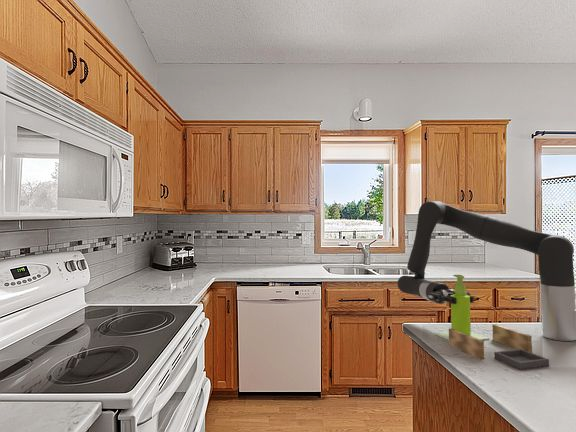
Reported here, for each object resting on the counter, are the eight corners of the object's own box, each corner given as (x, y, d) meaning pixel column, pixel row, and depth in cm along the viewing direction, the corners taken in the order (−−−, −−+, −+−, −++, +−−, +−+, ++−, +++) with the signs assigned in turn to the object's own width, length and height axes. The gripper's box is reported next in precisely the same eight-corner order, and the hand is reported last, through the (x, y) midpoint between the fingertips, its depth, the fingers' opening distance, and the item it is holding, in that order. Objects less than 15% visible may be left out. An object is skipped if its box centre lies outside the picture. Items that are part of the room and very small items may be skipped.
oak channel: (449, 344, 122) (448, 328, 122) (496, 339, 126) (495, 324, 126) (480, 359, 108) (479, 341, 109) (532, 353, 112) (531, 335, 113)
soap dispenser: (465, 331, 133) (464, 273, 133) (473, 337, 126) (472, 276, 127) (448, 331, 134) (447, 273, 134) (454, 337, 127) (453, 276, 127)
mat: (433, 334, 134) (433, 332, 134) (466, 330, 137) (466, 329, 137) (454, 343, 123) (454, 342, 123) (489, 339, 126) (489, 338, 126)
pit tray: (494, 358, 109) (494, 352, 109) (521, 355, 111) (521, 348, 111) (520, 370, 100) (520, 363, 100) (549, 366, 102) (548, 359, 102)
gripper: (416, 282, 143) (444, 290, 126) (450, 280, 146) (482, 287, 129) (417, 303, 143) (445, 313, 126) (451, 300, 146) (483, 310, 129)
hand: (464, 300), depth 128 cm, fingers closed on soap dispenser, 6 cm apart
